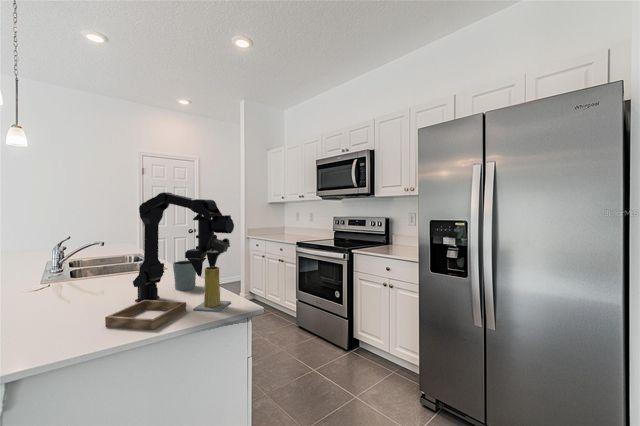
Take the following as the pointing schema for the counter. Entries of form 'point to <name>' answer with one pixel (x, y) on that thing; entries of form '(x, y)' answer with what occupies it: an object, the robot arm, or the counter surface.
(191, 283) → the grey-blue cup
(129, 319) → the wooden frame
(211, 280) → the vase
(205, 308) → the slate mat
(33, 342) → the counter surface
